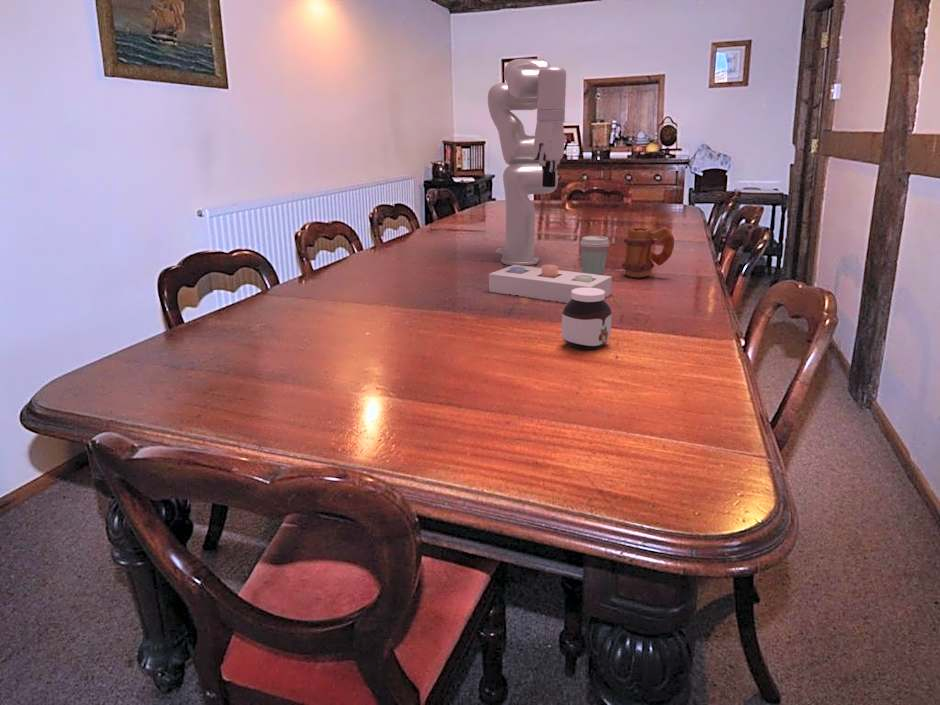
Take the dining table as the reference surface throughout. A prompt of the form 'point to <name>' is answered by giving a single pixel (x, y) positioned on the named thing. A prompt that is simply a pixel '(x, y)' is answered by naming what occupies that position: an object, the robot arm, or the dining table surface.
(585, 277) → the sage button
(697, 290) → the dining table surface
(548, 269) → the orange rounded piece
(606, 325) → the spread jar
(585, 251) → the coffee cup
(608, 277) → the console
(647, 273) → the mug
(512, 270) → the slate button
